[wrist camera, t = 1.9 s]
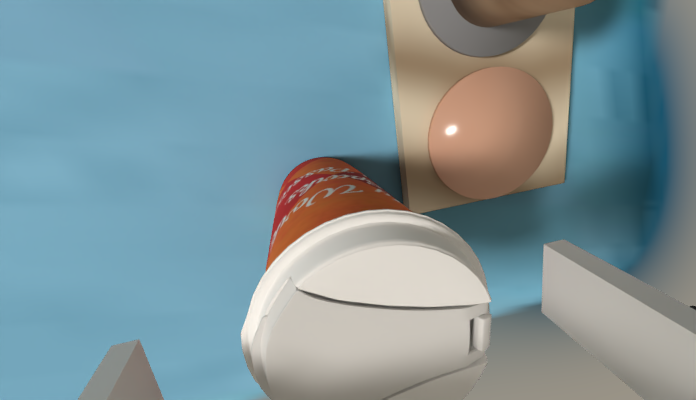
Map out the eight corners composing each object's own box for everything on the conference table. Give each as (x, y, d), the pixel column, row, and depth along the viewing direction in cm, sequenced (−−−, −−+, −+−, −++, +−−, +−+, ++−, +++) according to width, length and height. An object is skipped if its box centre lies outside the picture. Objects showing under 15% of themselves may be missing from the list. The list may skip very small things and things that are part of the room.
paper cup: (379, 133, 23) (522, 207, 9) (384, 245, 25) (503, 426, 12) (249, 146, 21) (209, 253, 8) (268, 263, 24) (261, 486, 11)
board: (373, -97, 19) (379, -108, 18) (565, -116, 20) (582, -127, 19) (403, 209, 24) (410, 215, 23) (551, 178, 26) (564, 182, 25)
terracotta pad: (422, 78, 21) (426, 78, 20) (549, 57, 22) (555, 56, 21) (432, 207, 23) (435, 210, 23) (544, 184, 24) (549, 186, 24)
